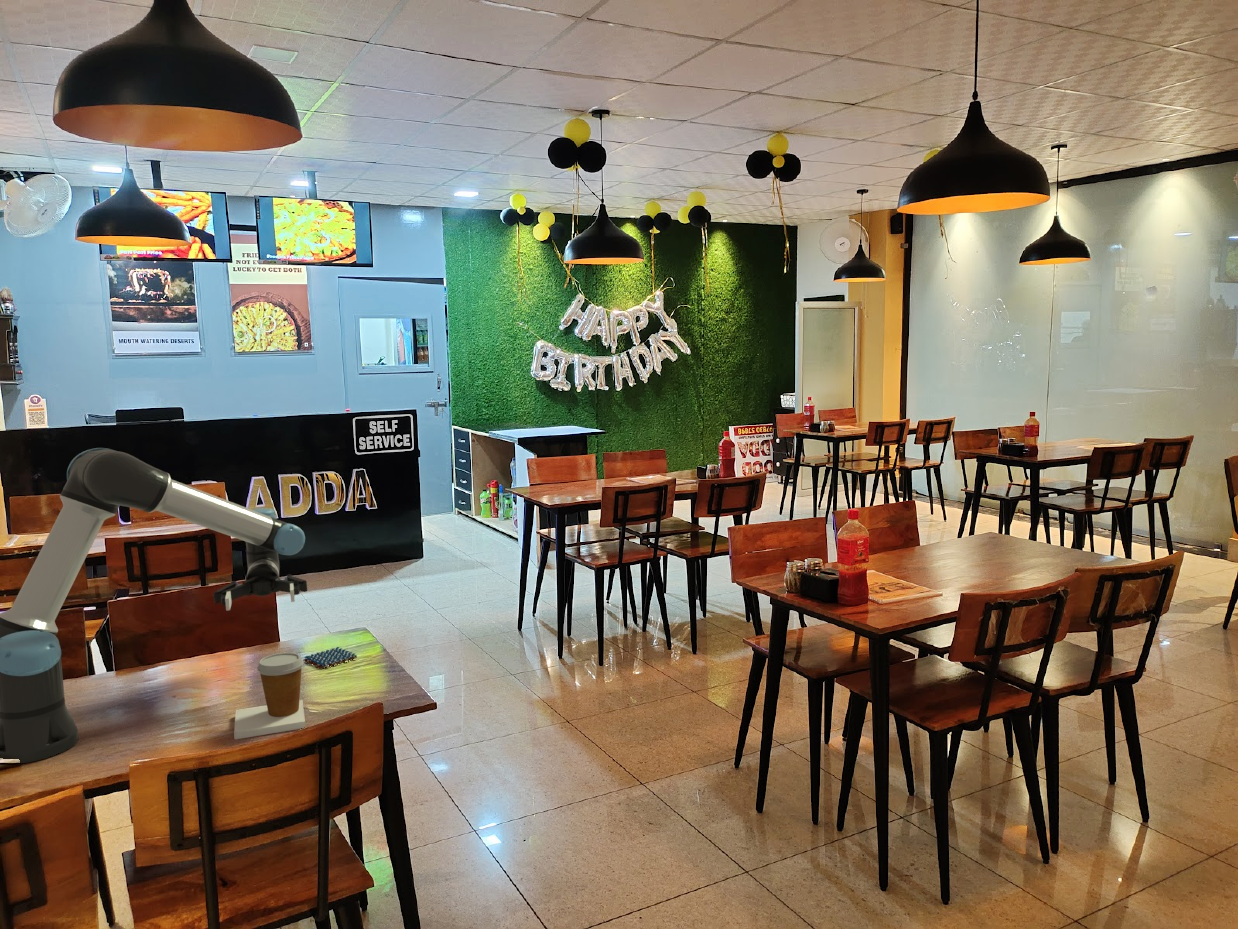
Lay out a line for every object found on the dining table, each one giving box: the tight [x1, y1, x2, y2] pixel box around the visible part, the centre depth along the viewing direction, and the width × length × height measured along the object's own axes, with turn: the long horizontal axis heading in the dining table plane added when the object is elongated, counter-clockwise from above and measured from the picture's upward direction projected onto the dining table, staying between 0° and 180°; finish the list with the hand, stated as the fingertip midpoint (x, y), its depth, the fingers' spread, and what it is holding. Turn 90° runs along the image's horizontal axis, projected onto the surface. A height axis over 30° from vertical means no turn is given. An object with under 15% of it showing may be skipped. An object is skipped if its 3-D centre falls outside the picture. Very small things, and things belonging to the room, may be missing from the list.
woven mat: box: [302, 646, 358, 669], centre depth 228 cm, size 10×11×2 cm
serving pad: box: [233, 699, 306, 740], centre depth 190 cm, size 14×13×2 cm
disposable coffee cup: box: [256, 652, 305, 717], centre depth 191 cm, size 10×10×12 cm
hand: (260, 600), depth 195 cm, fingers open, 13 cm apart
